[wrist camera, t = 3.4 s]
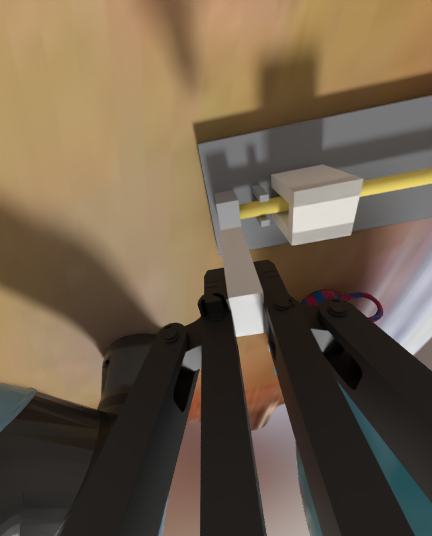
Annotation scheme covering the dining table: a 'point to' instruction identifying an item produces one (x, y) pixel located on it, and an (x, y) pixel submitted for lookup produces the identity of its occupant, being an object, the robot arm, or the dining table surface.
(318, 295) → the mug
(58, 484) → the robot arm
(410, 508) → the vase
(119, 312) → the dining table surface
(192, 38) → the dining table surface
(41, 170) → the dining table surface
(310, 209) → the sleeve
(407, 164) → the linear slide mechanism
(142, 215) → the dining table surface
